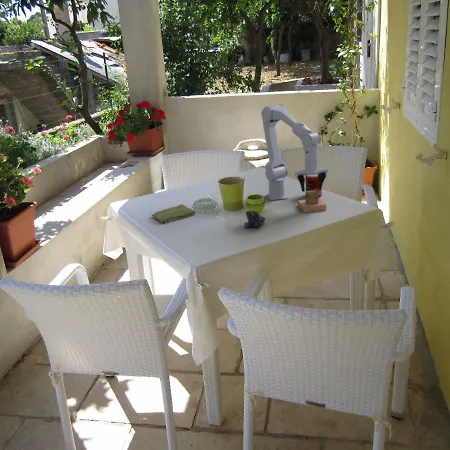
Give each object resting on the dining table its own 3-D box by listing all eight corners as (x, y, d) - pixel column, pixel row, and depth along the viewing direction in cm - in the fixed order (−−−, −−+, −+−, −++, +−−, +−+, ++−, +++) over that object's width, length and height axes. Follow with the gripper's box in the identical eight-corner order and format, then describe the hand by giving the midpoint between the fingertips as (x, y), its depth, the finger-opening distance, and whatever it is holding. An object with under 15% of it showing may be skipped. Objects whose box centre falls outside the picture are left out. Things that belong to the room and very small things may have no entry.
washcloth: (150, 218, 223) (149, 211, 222) (184, 209, 232) (183, 202, 231) (162, 226, 213) (161, 219, 212) (197, 216, 221) (197, 209, 220)
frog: (252, 232, 197) (251, 216, 194) (238, 225, 206) (237, 209, 203) (270, 227, 201) (270, 211, 198) (256, 220, 210) (255, 204, 207)
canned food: (321, 193, 238) (321, 171, 234) (322, 198, 230) (322, 175, 226) (305, 193, 239) (304, 172, 235) (306, 198, 231) (305, 176, 227)
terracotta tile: (297, 205, 223) (297, 200, 222) (319, 203, 224) (318, 197, 223) (304, 212, 214) (304, 207, 213) (326, 209, 215) (326, 204, 214)
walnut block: (305, 201, 220) (305, 191, 218) (315, 200, 220) (315, 190, 219) (308, 204, 216) (308, 194, 214) (318, 203, 216) (318, 192, 214)
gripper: (297, 164, 207) (298, 194, 212) (330, 160, 208) (330, 191, 213) (293, 160, 213) (293, 190, 218) (325, 157, 215) (324, 186, 220)
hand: (311, 190), depth 216 cm, fingers open, 7 cm apart
